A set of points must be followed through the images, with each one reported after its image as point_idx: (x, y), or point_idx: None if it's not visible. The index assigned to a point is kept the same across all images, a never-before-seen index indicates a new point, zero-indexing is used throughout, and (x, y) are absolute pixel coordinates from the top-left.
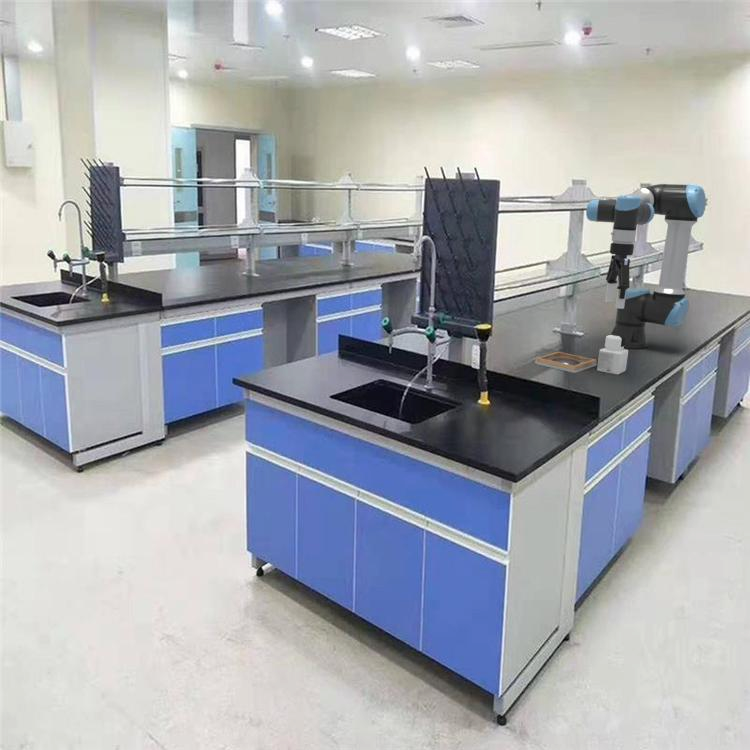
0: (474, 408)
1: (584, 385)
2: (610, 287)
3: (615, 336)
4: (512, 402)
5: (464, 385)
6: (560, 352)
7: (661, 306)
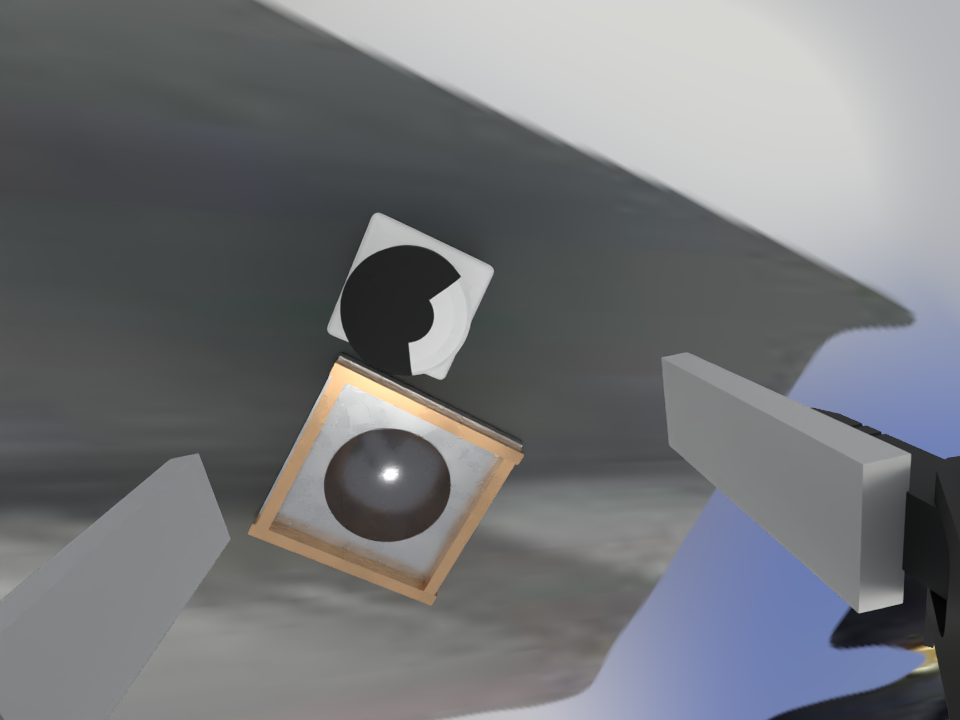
0: None
1: None
2: (86, 669)
3: (447, 320)
4: (925, 594)
5: None
6: (264, 524)
7: None
